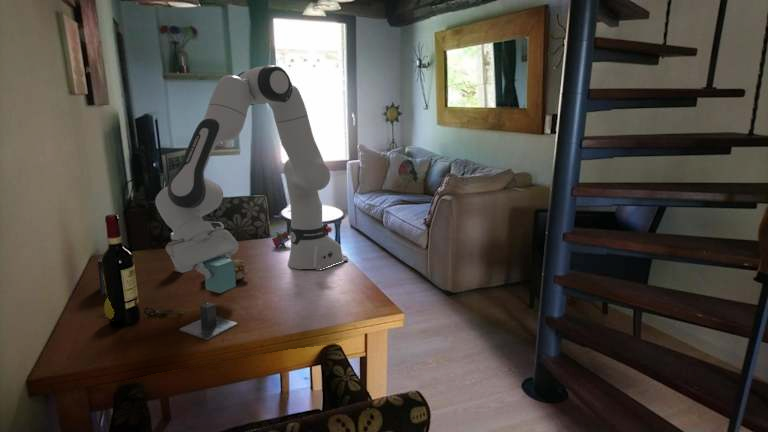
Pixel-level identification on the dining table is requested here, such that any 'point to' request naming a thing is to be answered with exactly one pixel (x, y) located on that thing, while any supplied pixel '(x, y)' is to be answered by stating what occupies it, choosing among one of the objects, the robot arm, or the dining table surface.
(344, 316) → the dining table surface
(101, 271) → the box
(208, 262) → the tall teal block
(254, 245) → the dining table surface
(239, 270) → the mineral formation
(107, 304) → the lemon
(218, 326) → the post
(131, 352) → the dining table surface
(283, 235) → the geometric puzzle
